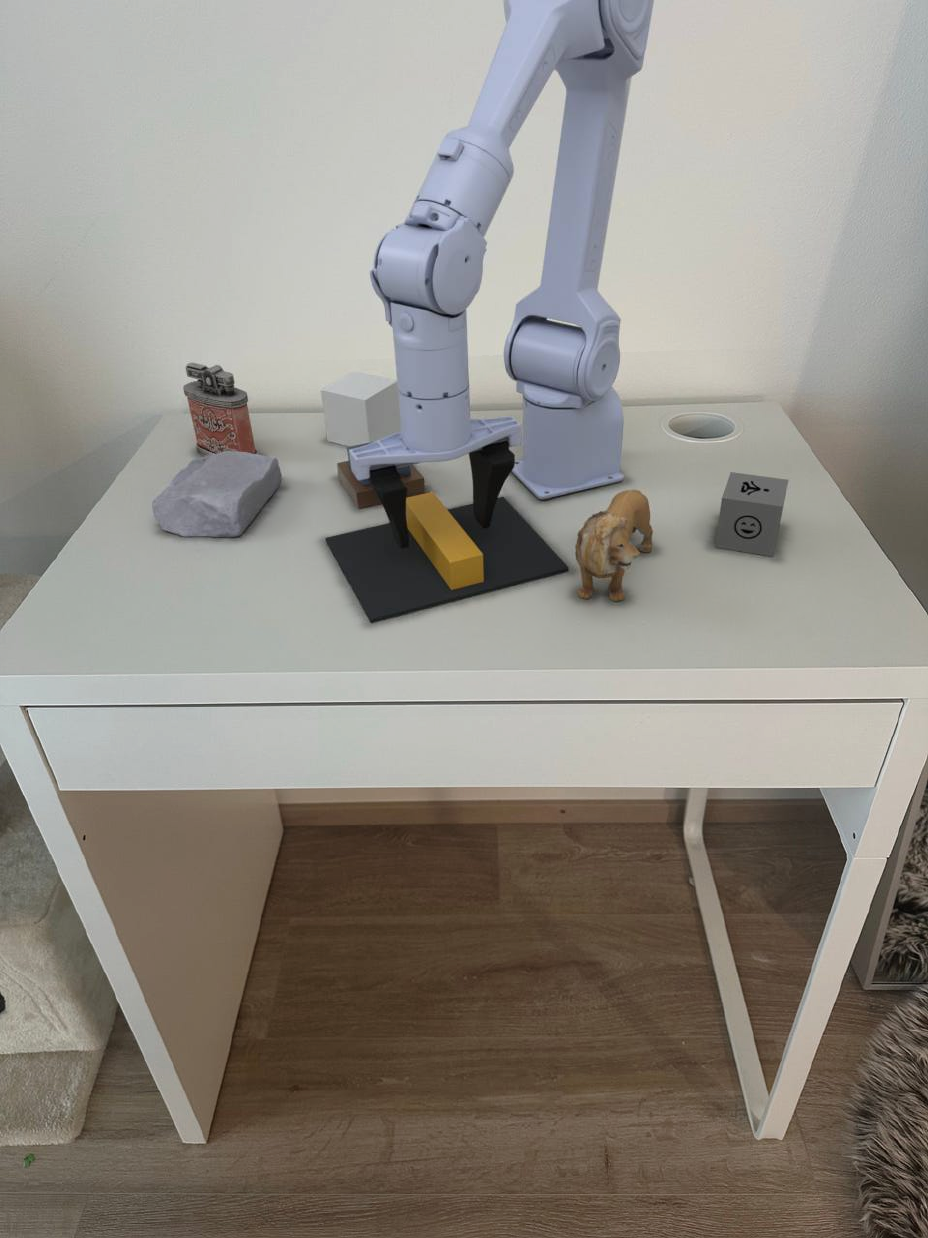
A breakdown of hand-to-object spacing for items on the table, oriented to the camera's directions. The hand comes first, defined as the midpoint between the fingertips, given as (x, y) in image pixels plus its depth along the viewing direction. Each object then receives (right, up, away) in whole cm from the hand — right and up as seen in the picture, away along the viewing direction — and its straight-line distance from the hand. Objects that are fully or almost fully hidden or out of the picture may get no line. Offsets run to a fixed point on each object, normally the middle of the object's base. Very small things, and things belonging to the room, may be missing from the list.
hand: (442, 532), depth 82 cm
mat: (0, -2, +1) cm, 2 cm away
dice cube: (+28, 0, +2) cm, 28 cm away
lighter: (-24, +10, +19) cm, 32 cm away
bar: (0, -2, +1) cm, 2 cm away
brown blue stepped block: (-6, +6, +12) cm, 15 cm away
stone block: (-22, +3, +10) cm, 25 cm away
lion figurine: (+15, -5, -3) cm, 16 cm away
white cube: (-9, +13, +22) cm, 27 cm away
